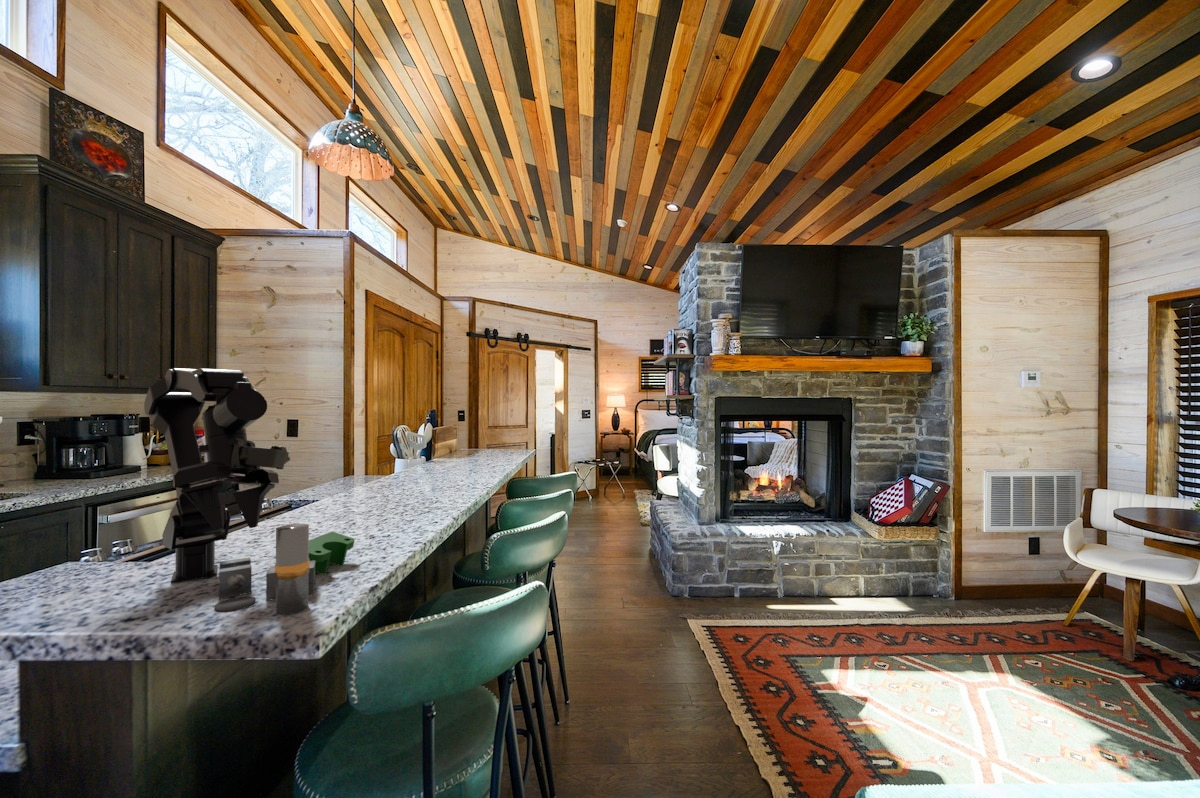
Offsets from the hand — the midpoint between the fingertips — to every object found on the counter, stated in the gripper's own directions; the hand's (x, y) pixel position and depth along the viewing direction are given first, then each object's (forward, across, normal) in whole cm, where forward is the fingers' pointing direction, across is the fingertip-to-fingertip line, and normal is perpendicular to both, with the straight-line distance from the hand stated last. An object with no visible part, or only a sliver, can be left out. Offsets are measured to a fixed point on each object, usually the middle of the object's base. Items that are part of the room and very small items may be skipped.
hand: (237, 528), depth 81 cm
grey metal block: (+10, +7, +5) cm, 13 cm away
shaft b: (+12, +5, -5) cm, 14 cm away
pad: (+12, 0, +2) cm, 12 cm away
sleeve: (+15, -2, -8) cm, 17 cm away
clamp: (+10, +17, -5) cm, 20 cm away
